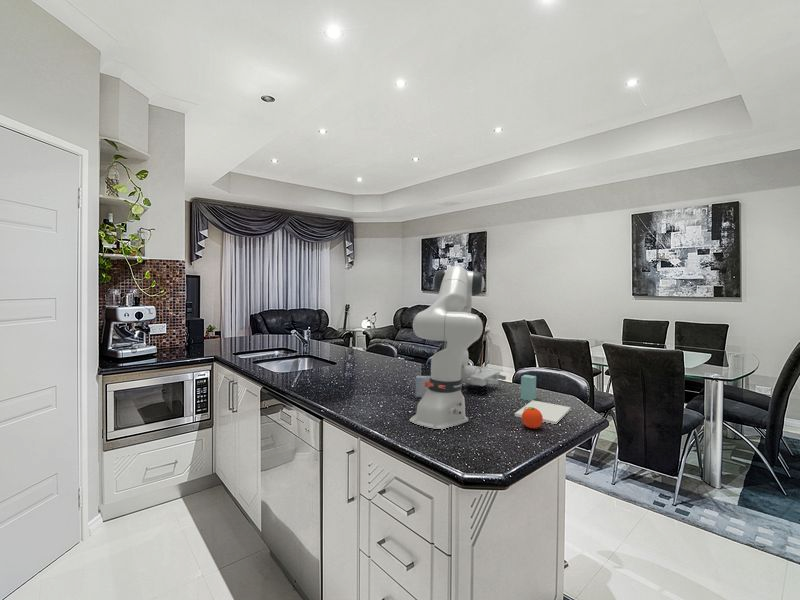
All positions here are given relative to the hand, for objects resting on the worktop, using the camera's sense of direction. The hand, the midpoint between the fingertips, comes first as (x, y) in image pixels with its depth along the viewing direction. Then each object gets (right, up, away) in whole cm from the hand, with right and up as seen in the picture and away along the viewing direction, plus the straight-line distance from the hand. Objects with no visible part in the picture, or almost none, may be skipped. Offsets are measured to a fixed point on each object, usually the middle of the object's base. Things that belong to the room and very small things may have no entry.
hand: (501, 380), depth 179 cm
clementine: (-1, -8, -42) cm, 43 cm away
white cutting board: (+9, -7, -26) cm, 29 cm away
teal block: (+10, -7, -7) cm, 14 cm away
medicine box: (-36, -6, -7) cm, 37 cm away
